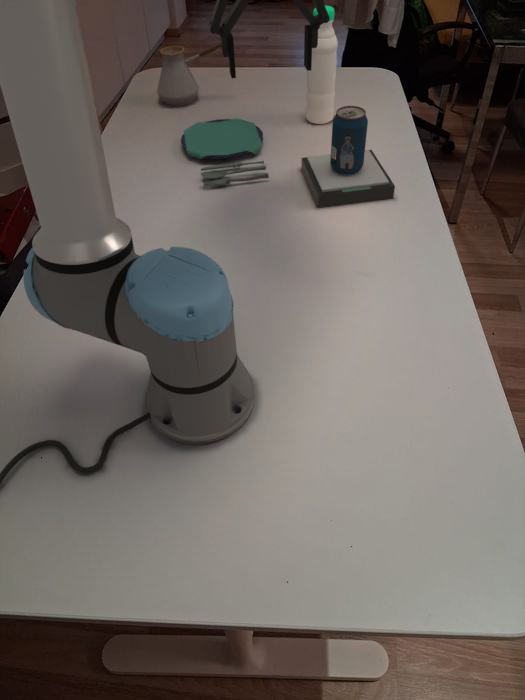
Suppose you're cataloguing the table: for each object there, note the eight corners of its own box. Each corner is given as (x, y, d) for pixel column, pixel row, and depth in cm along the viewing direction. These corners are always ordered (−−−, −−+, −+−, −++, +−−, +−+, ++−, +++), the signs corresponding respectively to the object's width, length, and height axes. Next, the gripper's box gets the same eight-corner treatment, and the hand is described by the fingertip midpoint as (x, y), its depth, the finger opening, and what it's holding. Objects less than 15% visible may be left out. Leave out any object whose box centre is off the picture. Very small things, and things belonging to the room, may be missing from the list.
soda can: (352, 157, 117) (357, 101, 108) (369, 172, 112) (375, 115, 104) (324, 165, 115) (327, 108, 106) (339, 180, 111) (343, 122, 102)
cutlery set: (256, 122, 138) (256, 113, 136) (278, 181, 118) (278, 171, 116) (179, 131, 136) (178, 122, 135) (187, 192, 116) (186, 182, 114)
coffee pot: (155, 109, 146) (144, 48, 135) (163, 91, 154) (153, 33, 143) (232, 108, 144) (228, 47, 133) (237, 91, 152) (233, 32, 141)
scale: (317, 207, 110) (318, 193, 108) (301, 169, 121) (301, 155, 119) (393, 198, 112) (395, 183, 109) (370, 161, 122) (371, 147, 120)
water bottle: (300, 119, 138) (301, 8, 120) (319, 110, 141) (323, 0, 123) (319, 127, 135) (324, 14, 116) (339, 118, 138) (346, 7, 119)
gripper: (340, -89, 84) (333, 57, 100) (182, -77, 82) (199, 70, 98) (354, -81, 79) (343, 72, 95) (185, -67, 77) (203, 87, 93)
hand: (270, 71), depth 96 cm, fingers open, 13 cm apart
